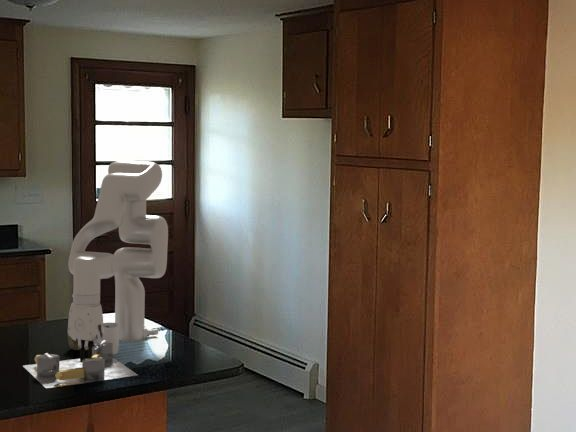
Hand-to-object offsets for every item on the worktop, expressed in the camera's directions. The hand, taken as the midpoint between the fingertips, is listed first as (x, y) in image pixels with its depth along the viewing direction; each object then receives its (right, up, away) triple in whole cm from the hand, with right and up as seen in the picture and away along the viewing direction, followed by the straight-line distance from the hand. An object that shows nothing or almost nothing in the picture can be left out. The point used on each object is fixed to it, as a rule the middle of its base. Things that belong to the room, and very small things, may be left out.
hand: (86, 361), depth 237 cm
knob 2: (+3, -1, +3) cm, 5 cm away
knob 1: (-11, -2, -5) cm, 12 cm away
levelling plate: (-1, -3, -3) cm, 5 cm away
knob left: (+1, -3, -12) cm, 12 cm away
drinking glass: (+3, -2, +17) cm, 17 cm away
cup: (-7, -1, +19) cm, 20 cm away
